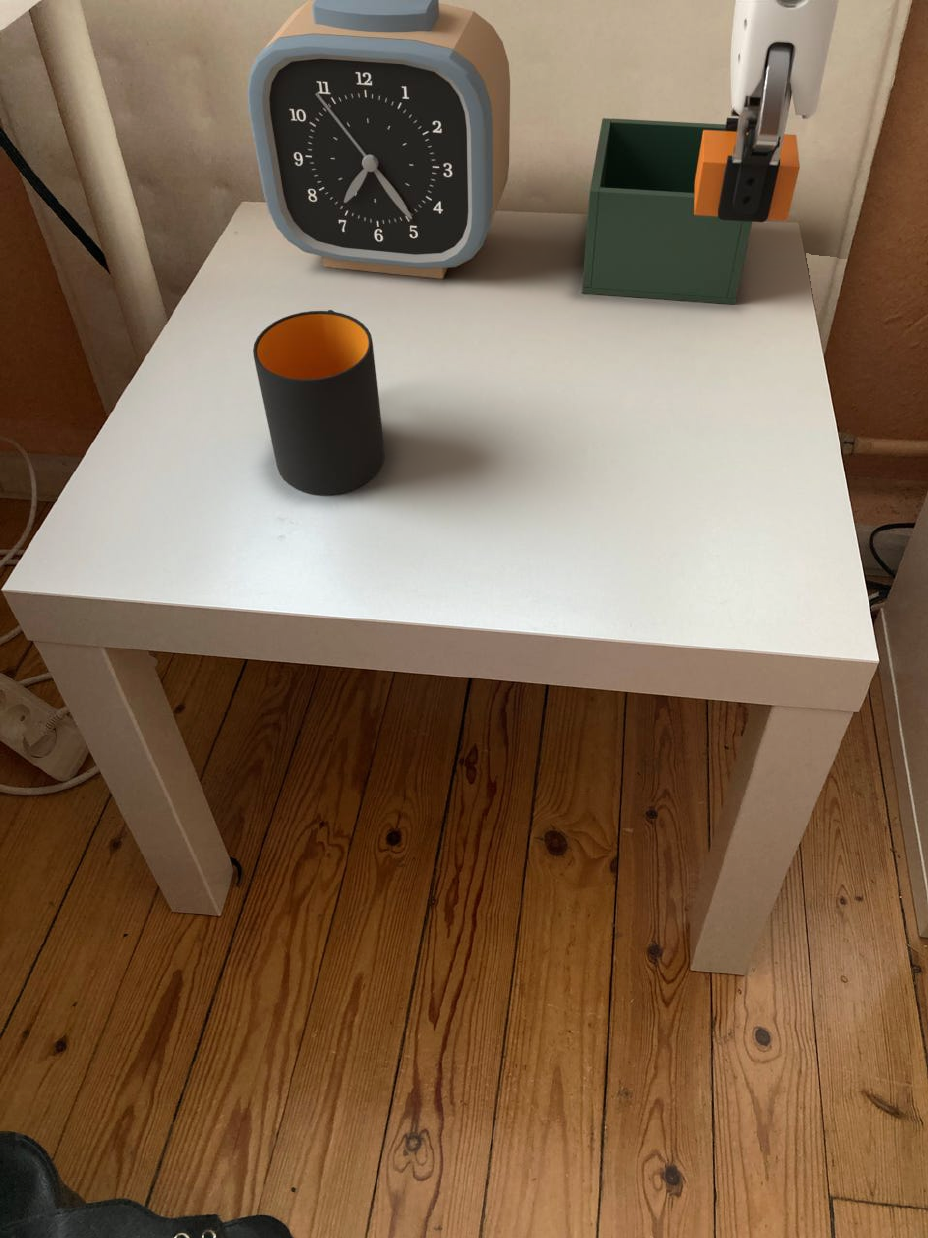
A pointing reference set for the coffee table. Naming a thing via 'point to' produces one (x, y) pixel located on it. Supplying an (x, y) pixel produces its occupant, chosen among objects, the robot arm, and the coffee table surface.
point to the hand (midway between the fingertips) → (741, 195)
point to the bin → (657, 218)
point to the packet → (713, 170)
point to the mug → (321, 400)
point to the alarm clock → (383, 132)
